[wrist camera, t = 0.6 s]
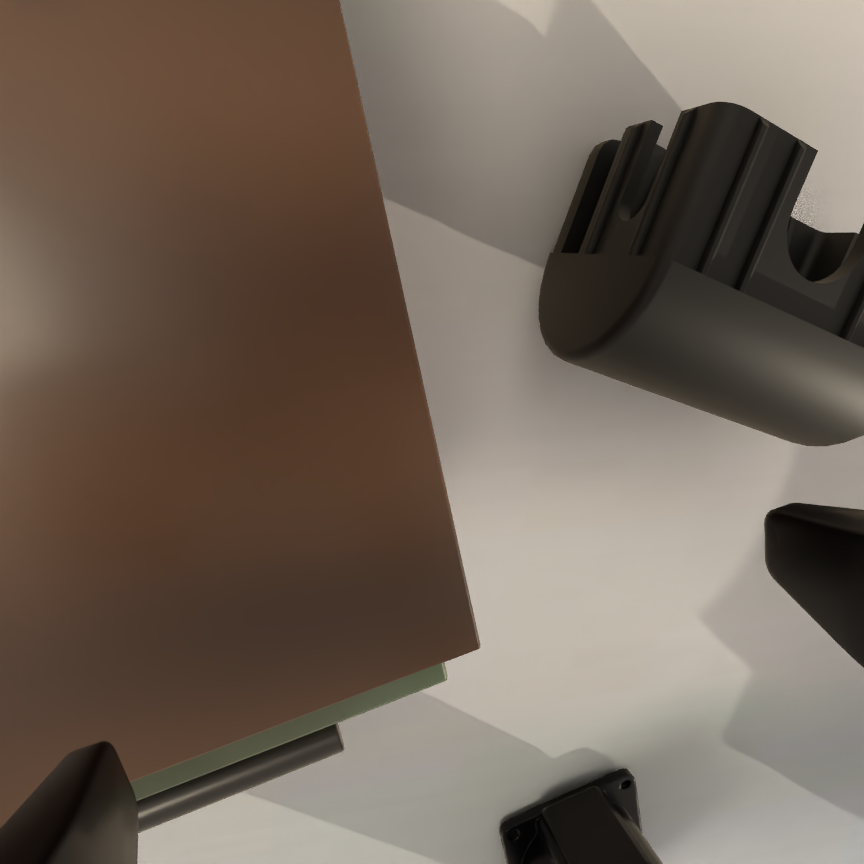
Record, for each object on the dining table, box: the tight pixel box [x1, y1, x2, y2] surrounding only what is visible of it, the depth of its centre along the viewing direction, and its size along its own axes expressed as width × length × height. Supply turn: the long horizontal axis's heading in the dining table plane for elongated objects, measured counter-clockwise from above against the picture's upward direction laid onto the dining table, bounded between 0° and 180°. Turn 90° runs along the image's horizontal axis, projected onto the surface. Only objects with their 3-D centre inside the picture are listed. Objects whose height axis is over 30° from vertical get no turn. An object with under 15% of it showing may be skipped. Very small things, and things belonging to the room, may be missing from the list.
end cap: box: [539, 102, 864, 446], centre depth 20 cm, size 10×7×7 cm
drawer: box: [130, 662, 447, 833], centre depth 14 cm, size 20×13×9 cm, turn 12°
